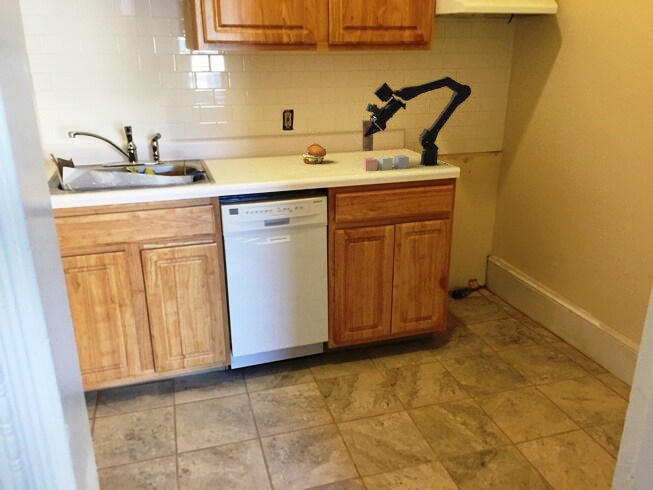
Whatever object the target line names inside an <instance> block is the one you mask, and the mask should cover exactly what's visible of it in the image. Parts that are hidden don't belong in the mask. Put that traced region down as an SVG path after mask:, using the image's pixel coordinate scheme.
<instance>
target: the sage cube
mask: <svg viewBox="0 0 653 490" xmlns="http://www.w3.org/2000/svg"><path fill="white" fill-rule="evenodd" d="M376 159H377V170H381V171H387V170H393V163H394V157H390V156H387V155H386V156H377V157H376Z"/></svg>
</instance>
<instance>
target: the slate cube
mask: <svg viewBox="0 0 653 490" xmlns="http://www.w3.org/2000/svg"><path fill="white" fill-rule="evenodd" d="M409 164H410V157H409V156H407V155H404V154H402V155H401V154H400V155H393V167H394V168H395V169H397V170H402V169H409V168H410V167H409Z"/></svg>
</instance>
